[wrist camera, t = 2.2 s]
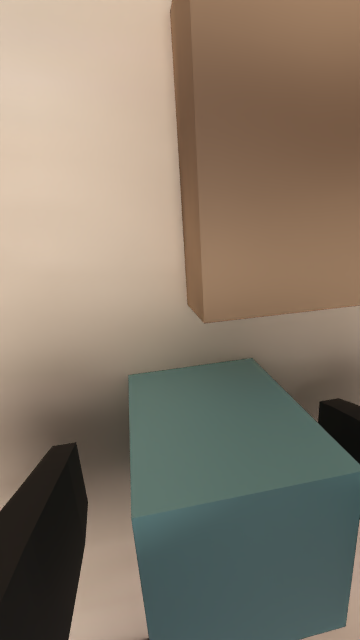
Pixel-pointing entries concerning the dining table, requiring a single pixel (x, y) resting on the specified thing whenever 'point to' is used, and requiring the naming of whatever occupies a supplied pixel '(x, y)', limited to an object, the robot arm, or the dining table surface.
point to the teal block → (238, 507)
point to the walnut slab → (268, 154)
